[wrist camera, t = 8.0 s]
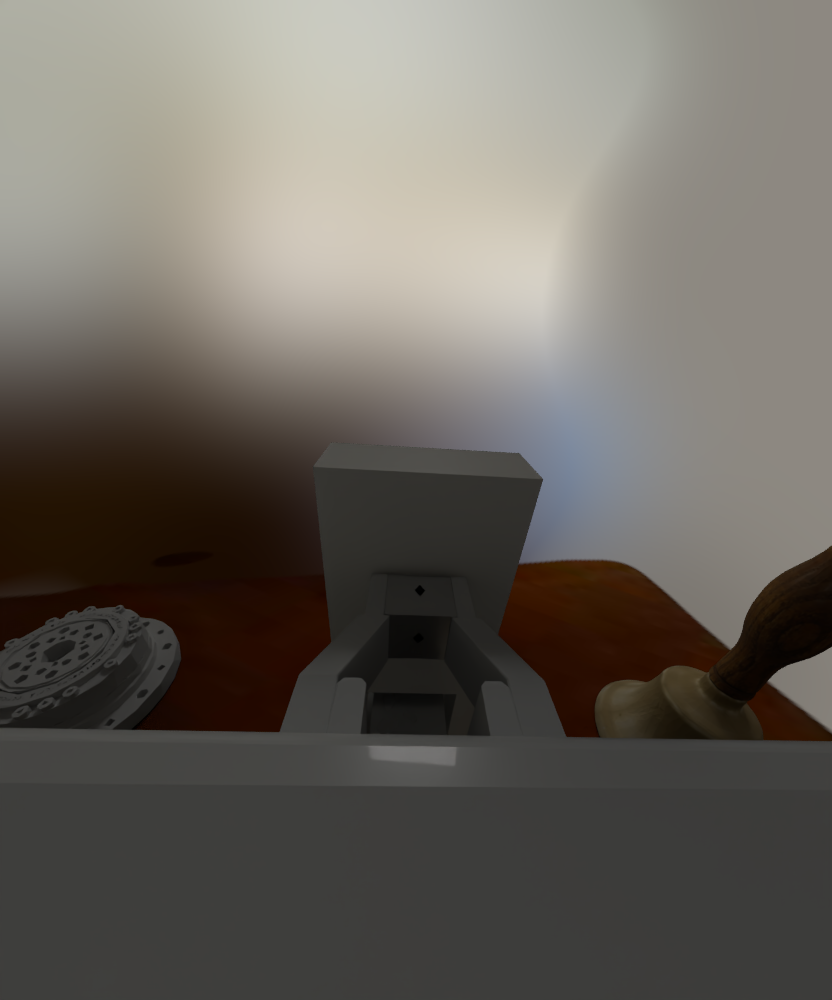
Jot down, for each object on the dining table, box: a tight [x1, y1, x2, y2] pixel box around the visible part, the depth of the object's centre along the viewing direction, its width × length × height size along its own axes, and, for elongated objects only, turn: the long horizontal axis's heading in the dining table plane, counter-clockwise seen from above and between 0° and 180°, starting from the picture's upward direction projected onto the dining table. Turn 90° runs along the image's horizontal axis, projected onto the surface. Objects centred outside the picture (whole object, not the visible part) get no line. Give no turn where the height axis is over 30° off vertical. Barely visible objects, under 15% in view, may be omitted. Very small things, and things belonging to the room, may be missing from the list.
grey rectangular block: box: [313, 443, 543, 735], centre depth 13 cm, size 4×6×15 cm, turn 91°
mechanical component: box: [0, 605, 181, 730], centre depth 19 cm, size 10×4×10 cm
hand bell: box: [595, 546, 832, 740], centre depth 16 cm, size 8×8×16 cm
